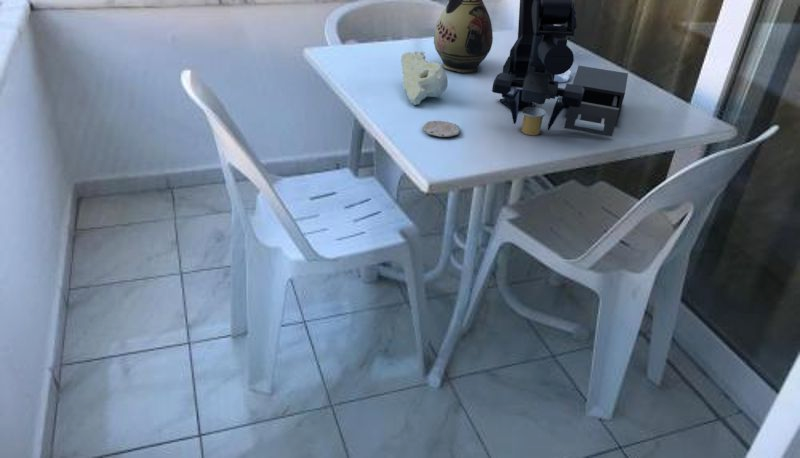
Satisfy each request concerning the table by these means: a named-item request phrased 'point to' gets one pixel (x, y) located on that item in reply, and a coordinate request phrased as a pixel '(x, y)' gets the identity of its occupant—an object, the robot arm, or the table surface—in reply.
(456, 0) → the ceramic jug
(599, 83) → the mini drawer cabinet
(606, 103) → the drawer
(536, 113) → the coffee pod
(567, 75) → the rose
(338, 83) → the table surface
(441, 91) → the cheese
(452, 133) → the flatbread
